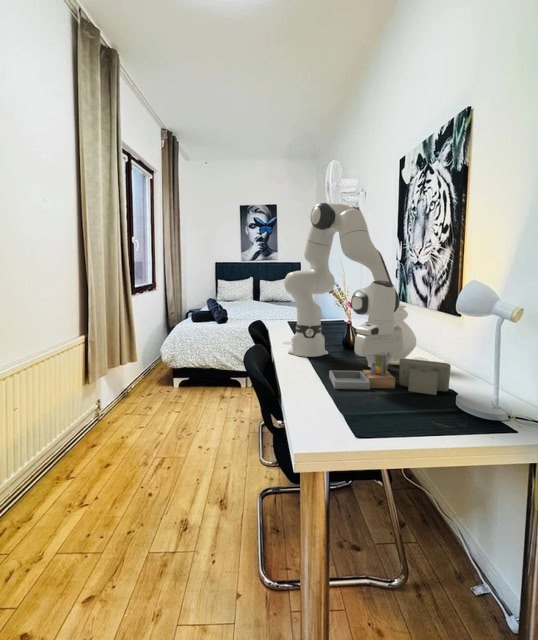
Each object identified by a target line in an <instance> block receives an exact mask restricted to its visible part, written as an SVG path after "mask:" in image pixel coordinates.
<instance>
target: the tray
mask: <svg viewBox="0 0 538 640" xmlns="http://www.w3.org/2000/svg"><path fill="white" fill-rule="evenodd" d="M328 375H329V376H328V378H329V380H330V382H331V385H332V386H333V389H334V390H364V391H365V390H371V388H370V381H369V380H368V379H367V378H366V376H365V375H364V374H363V370H329V373H328Z"/></svg>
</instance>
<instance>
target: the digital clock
mask: <svg viewBox="0 0 538 640" xmlns="http://www.w3.org/2000/svg"><path fill="white" fill-rule="evenodd" d="M398 366H399V370H398V373H399V374H398V377H399V378H398V384H399V385H400V386H403V387H407V388H408V392H411V393H412V392H413V393H419V394H425V395H433V396H437V392H448V391H449V388H450V378H451V364H450V363H447V362H443V361H442V362H440V361H435V360H434V361H432V360H423V359H413V358H403V359H400V365H398Z"/></svg>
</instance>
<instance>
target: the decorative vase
mask: <svg viewBox="0 0 538 640" xmlns="http://www.w3.org/2000/svg"><path fill="white" fill-rule="evenodd" d="M405 308H407V305H406V304H401V303H400V304H399V307H398V309H397V310H396V311H395V312H394V326H399V327H400V328H401V329H402V335H403V349H402V351H399V352H392V356H391V358H390V360H389V365H395V366H396V365H397V366H400V359H403V358H405V359H407V357H408V356H409V355H410V354H411V353H412V352H413V351H414V349H415V348H416V346H417V336H416V335H415V333H414V331H413V330H412V328H411V327H410V326H409V324H408V323H406V322H405V319H407V318H408V317H409V313H408V312H407V310H405ZM400 328H399V329H400Z"/></svg>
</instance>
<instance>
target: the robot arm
mask: <svg viewBox="0 0 538 640" xmlns="http://www.w3.org/2000/svg"><path fill="white" fill-rule="evenodd" d="M310 222H311V225H310V229H309V232H308V235H307V239H306V244H305V248H304V252H303V253H304V254H303V256H304V259H305V261H306V262H307V263H309V264H310V265H309V266H310V269H309V270H296V271H292V272H291V271H290V272H289V273H287V274H286V276H285V278H284V283H283V284H284V288H285V290H286V292H287V293H289V294H290V296H291V297H292V298H293V300H294V302H295V305H296V306H295V307H296V324H295V331H296V332H295V334H293V336H292V337H291V339H290V340H291V341H290V342H291V347H290V349H288V351H287V353H288V354H290V355H294V356H298V357H306V358H307V357H308V358H309V357H311V358H315V357H321V356H324V355H328V354H329V351H327V349H325V336H324V335H323V334H322V330H323V328H322V324H321V321H322V308H321V306H320V305H319V304H318V303H316V302H315V301H314V298H313V297H314V296H313V295H325V294H326V293H331V291H333V289H334V288H335V285H336V281H335V280H336V279H335V277H334V275H333V273H331V271H330V267H329V261H330V260H329V258H330V254H331V249H332V245H333V241H334V236H335V234H336V233H337V232H338V238H339V242H340V248H341V251H342V253H343V255H344V256H345V257H347V259H349V260H351V261H353V262H356V263H358V264H361V265H362V266H365V267H366V268H367V269H368V270H369V271H370V272H371V275H372V276H373V279H374V280H373V281H372V282H371V283H370V284H369V285H368V286H367V287H364V288H361V289H357V290H356V291H354V293H353V294H352V296H351V299H350V306H351V308H352V311H353V312H355V314H357V315H361V316H368V318H367V321H365V322H364V323H362V324H360V325H357V327H356V329H355V332H356V335H355V339H354V354H355V355H357V356H359V357H361V358H362V357H365V359H366V361H367V366H368V367H369V368H371V367H374V366H375V365H374V364H375V362H373V361H372V358H373V355H377V354H381V353H388V354H387V364H386V365H388V366H389V365H390V364H389V360H390V358H391V356H392V352H399V351H402V349H403V335H402V329H401V328H400V327H399V326H394V312H395V311H396V310H397V309H398V307H399V304H401V300H400V296H399V294H398V292H397V290H396V287H395V285H394V284H393V281H392V279H391V276H390V274H389V273H390V272H389V271H388V269H387V264H386V262H385V261H384V257H383V255H382V253H381V252H380V251H379V250H378V249H377V248H376V247H375V244H374V243H373V241H372V239H371V237H370V231H369V227H368V224H367V221H366V220H365V217H364V215H363V213H362V211H361V209H360V208H358V207H357V206H354V205H347V204H343V203H327V202H320V203H319V202H318V203H317V204H316V205H314V206H313V208H312V209H311V213H310ZM399 328H400V329H399Z"/></svg>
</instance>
